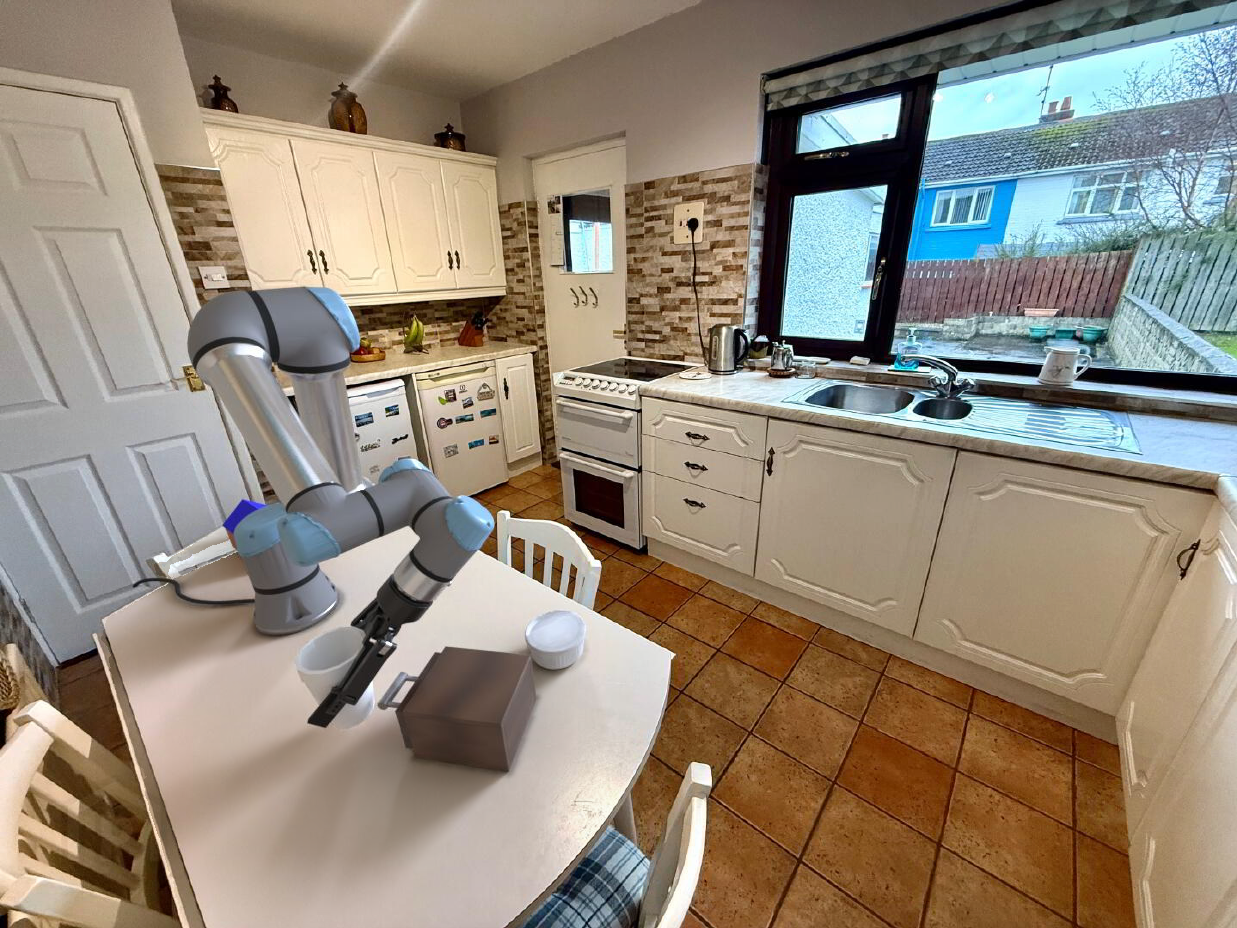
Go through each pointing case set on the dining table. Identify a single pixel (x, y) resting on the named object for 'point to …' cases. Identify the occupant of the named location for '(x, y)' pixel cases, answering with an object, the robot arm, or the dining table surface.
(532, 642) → the ramekin
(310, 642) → the foam cup
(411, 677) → the drawer
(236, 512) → the house
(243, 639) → the dining table surface
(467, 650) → the cabinet
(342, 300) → the robot arm
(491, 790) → the dining table surface
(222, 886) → the dining table surface
